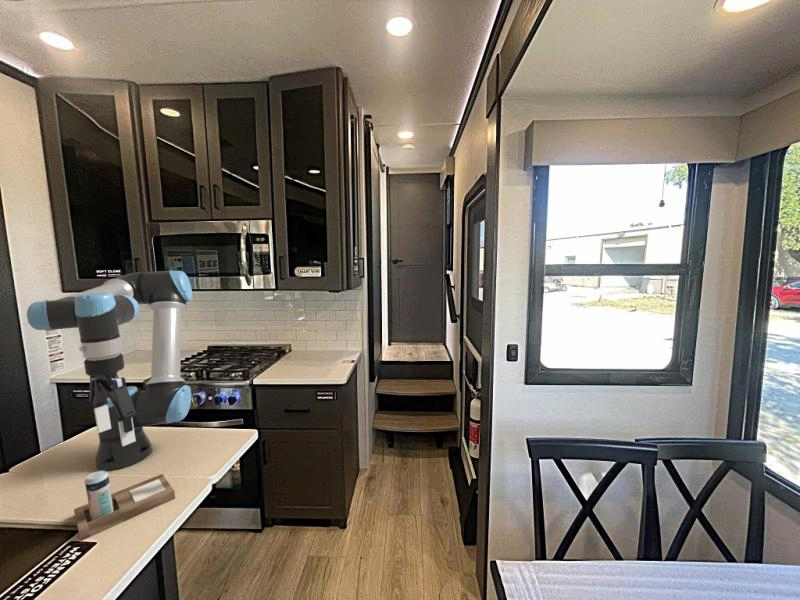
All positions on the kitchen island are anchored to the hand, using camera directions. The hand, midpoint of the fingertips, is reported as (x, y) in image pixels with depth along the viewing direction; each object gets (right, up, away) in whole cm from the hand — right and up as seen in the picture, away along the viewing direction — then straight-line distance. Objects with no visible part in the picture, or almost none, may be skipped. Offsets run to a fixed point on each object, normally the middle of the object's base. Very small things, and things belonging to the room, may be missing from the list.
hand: (116, 436), depth 94 cm
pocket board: (-1, -21, +5) cm, 22 cm away
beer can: (-5, -22, +2) cm, 22 cm away
